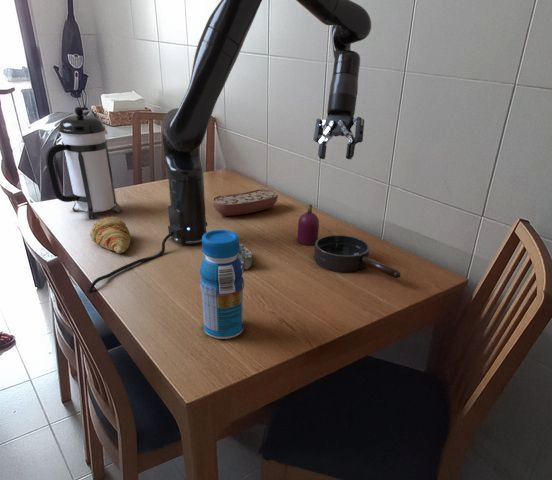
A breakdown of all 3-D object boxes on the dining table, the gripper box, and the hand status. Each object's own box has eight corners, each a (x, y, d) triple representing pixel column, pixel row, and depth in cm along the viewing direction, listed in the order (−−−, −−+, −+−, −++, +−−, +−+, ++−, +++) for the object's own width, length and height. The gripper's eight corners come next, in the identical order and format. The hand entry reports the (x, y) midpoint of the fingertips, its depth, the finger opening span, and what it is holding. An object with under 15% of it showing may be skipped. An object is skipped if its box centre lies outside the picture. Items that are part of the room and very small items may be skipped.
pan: (341, 277, 119) (343, 261, 116) (302, 258, 128) (303, 242, 125) (378, 263, 127) (381, 247, 124) (339, 246, 135) (341, 231, 133)
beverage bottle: (195, 335, 96) (188, 240, 84) (214, 315, 102) (210, 224, 91) (233, 344, 93) (231, 248, 82) (251, 323, 100) (251, 231, 88)
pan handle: (401, 278, 115) (402, 271, 114) (396, 280, 114) (397, 273, 113) (364, 261, 122) (365, 254, 121) (359, 263, 121) (360, 256, 120)
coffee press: (79, 202, 158) (58, 101, 141) (127, 204, 158) (112, 104, 141) (58, 221, 144) (32, 111, 127) (110, 223, 144) (92, 113, 127)
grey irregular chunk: (253, 269, 121) (253, 254, 119) (223, 272, 119) (223, 256, 117) (245, 252, 129) (245, 238, 127) (217, 254, 128) (217, 240, 125)
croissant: (135, 266, 128) (146, 238, 126) (99, 256, 121) (109, 227, 119) (112, 237, 142) (121, 212, 140) (78, 227, 136) (87, 201, 133)
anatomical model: (267, 202, 165) (267, 187, 162) (284, 210, 159) (284, 195, 156) (208, 213, 154) (207, 197, 151) (223, 222, 148) (223, 206, 145)
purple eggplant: (306, 247, 134) (309, 208, 128) (293, 240, 138) (295, 203, 131) (321, 242, 137) (325, 204, 131) (307, 236, 141) (310, 199, 134)
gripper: (313, 93, 131) (306, 156, 135) (360, 89, 123) (351, 156, 127) (327, 101, 137) (320, 161, 141) (372, 97, 129) (364, 161, 133)
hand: (335, 158), depth 134 cm, fingers open, 8 cm apart
